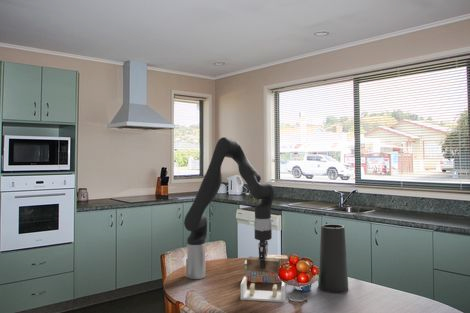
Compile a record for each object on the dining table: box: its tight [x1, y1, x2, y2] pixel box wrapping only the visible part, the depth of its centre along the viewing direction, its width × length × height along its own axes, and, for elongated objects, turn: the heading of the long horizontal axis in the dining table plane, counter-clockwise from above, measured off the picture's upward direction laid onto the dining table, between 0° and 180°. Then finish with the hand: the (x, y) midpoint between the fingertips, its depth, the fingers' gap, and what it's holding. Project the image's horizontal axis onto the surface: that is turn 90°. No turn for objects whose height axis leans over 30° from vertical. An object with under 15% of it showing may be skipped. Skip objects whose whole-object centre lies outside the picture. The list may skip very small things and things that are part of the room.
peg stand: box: [239, 276, 287, 303], centre depth 166 cm, size 19×10×7 cm, turn 80°
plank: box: [246, 256, 280, 273], centre depth 167 cm, size 14×4×5 cm, turn 72°
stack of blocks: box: [243, 254, 289, 284], centre depth 188 cm, size 21×6×12 cm, turn 84°
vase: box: [317, 223, 349, 294], centre depth 177 cm, size 14×14×29 cm
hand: (263, 266), depth 167 cm, fingers closed on plank, 4 cm apart
